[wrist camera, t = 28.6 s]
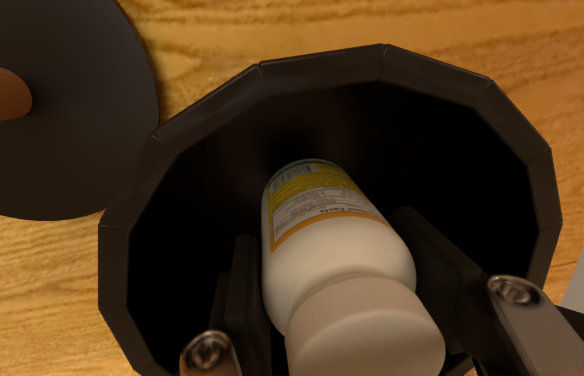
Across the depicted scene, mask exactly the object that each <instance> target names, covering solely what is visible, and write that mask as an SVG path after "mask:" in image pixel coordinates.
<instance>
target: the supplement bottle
mask: <svg viewBox="0 0 584 376" xmlns="http://www.w3.org/2000/svg"><path fill="white" fill-rule="evenodd" d="M261 241H262V269H261V285H262V298H263V303H264V307H265V310H266V312H267V314H268V317H269V318H270V320H271V322H272V323H273V325H274V326H275V327H276V329H277V330H278V331H279V332H280V333H281V334H282V335H284V336H285V348H286V352H287V361H288V369H289V376H438V375H439V373H440V371H441V369H442V367H443V364H444V360H445V342H444V339H443V337H442V334H441V332H440V331H439V329H438V327H437V325H436V324H435V322H434V321H433V319H432V318H431V316H430V315H429V313H428V312H427V310H426V309H425V307H424V306H423V304H422V303H421V301H420V300H419V298H418V297H417V296H416V294H415V290H416V269H415V264H414V261H413V258H412V255H411V253H410V251H409V249H408V247H407V246H406V244H405V243H404V242H403V240H402V239H401V238H400V236H399V235H398V234H397V233H396V232H395V230H394V229H393V228H392V227H391V225H390V224H389V223H388V222H387V221H386V220H385V218H384V217H383V216H382V215H381V214H380V212H379V211H378V210H377V209H376V208H375V206H374V205H373V204H372V203H371V202H370V201H369V199H368V198H367V197H366V196H365V195H364V194H363V192H362V191H361V190H360V189H359V188H358V186H357V185H356V184H355V183H354V181H353V180H352V179H351V178H350V177H349V176H348V174H347V173H346V172H345V171H344V170H343V169H342V168H340V167H339V166H337V165H335V164H334V163H331V162H329V161H326V160H322V159H302V160H298V161H295V162H292V163H290V164H288V165H286V166H284V167H282V168H281V169H280V170H278V171H277V172H276V173H275V174H274V175H273V176H272V178H271V179H270V180H269V182H268V184H267V185H266V187H265V190H264V192H263V196H262V203H261Z"/></svg>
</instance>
